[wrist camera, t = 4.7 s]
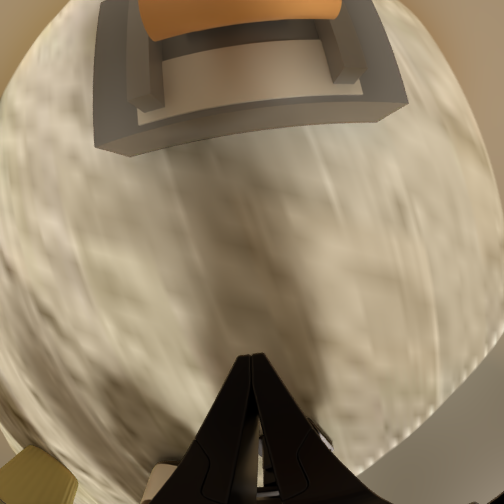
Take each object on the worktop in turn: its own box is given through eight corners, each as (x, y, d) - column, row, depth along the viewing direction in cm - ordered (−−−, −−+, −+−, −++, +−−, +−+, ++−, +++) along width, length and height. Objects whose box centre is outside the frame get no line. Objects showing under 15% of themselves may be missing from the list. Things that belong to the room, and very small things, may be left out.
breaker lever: (290, 23, 12) (358, 20, 5) (185, 37, 12) (133, 47, 5) (286, -6, 10) (351, -40, 4) (179, 8, 11) (119, -12, 4)
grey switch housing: (376, 122, 17) (430, 91, 10) (130, 157, 18) (70, 141, 11) (338, 0, 15) (361, -53, 8) (126, 31, 16) (86, -13, 9)
